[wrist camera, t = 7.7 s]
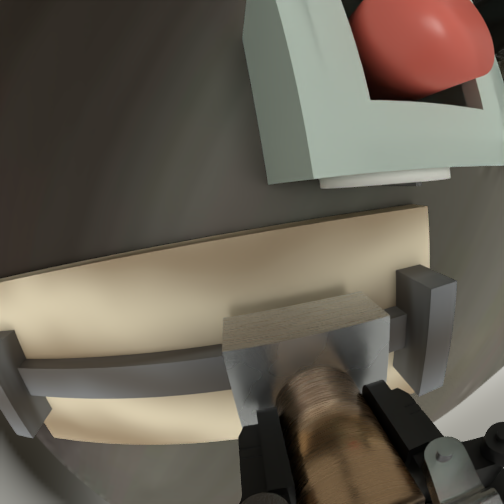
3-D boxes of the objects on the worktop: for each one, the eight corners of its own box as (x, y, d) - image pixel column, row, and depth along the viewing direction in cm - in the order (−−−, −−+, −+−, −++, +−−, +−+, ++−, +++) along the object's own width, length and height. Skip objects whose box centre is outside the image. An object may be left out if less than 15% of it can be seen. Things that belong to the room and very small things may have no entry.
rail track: (-4, 279, 14) (-50, 302, 9) (412, 204, 15) (467, 212, 10) (61, 425, 17) (38, 465, 12) (408, 379, 18) (441, 418, 13)
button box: (242, 39, 13) (255, -65, 5) (379, 39, 13) (457, -25, 5) (270, 195, 14) (317, 203, 7) (409, 178, 15) (521, 181, 7)
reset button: (322, 16, 8) (365, -51, 4) (406, 26, 8) (465, -18, 4) (346, 107, 8) (413, 65, 5) (431, 108, 9) (508, 87, 5)
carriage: (223, 308, 13) (220, 510, 4) (351, 284, 14) (501, 413, 4) (246, 408, 15) (265, 575, 5) (353, 384, 15) (436, 522, 5)
